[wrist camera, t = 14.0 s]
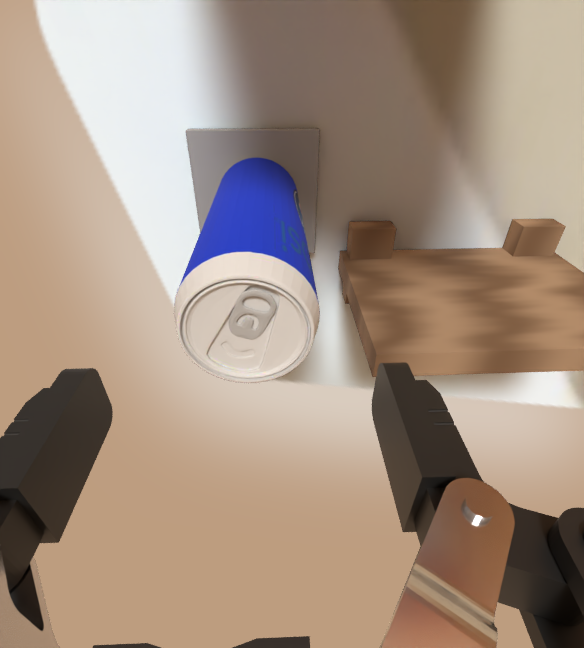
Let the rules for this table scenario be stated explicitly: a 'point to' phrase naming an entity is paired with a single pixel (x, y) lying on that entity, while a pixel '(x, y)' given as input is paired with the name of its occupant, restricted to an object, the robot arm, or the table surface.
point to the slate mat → (270, 143)
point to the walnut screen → (466, 302)
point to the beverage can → (249, 280)
